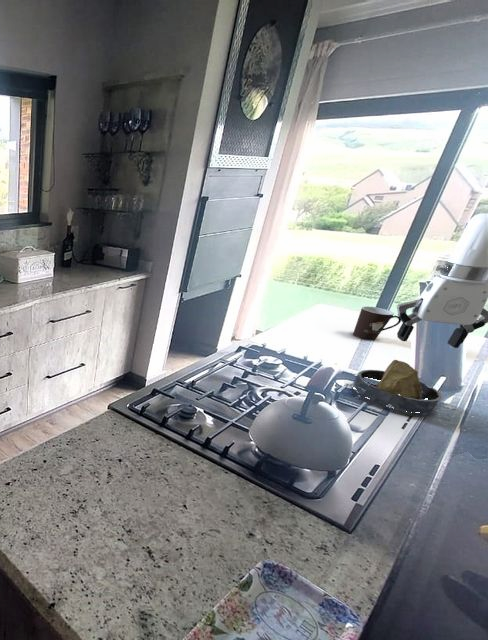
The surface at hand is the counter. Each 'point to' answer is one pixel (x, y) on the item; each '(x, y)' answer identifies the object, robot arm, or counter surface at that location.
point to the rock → (401, 380)
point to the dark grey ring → (395, 396)
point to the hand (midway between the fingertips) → (426, 342)
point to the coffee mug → (372, 322)
